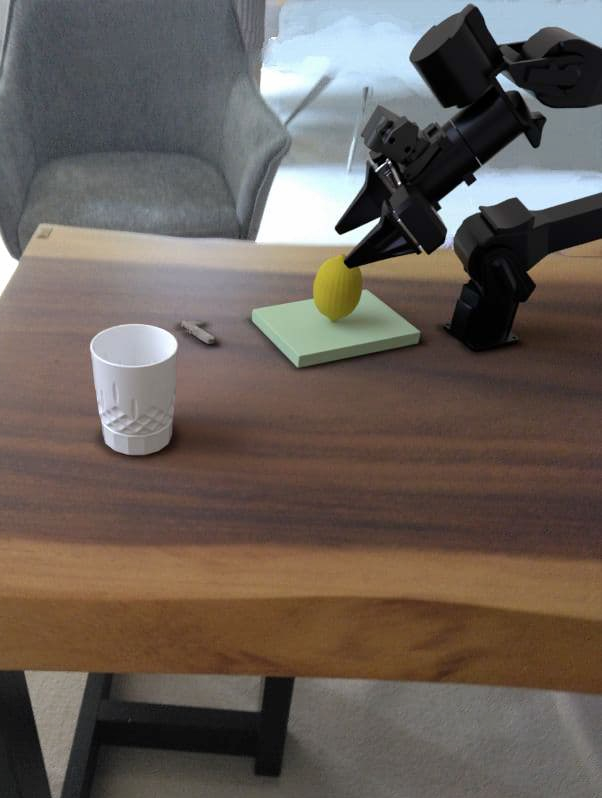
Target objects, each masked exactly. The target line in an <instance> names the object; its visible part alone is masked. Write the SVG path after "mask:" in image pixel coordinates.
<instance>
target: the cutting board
mask: <svg viewBox="0 0 602 798" xmlns="http://www.w3.org/2000/svg"><path fill="white" fill-rule="evenodd" d="M251 312H252V313H251V321H252V323H254V324H255V326H256V327H257V328H258V329H259V330H260V331H261V332H262V333H263V334H264V335H265V336H266V337H267V338H268V340H270V341H271V343H273V345H275V346H276V347H277V348H278V349H279V350H280V352H282V354H284V356H286V357H287V358H288V359H289V361H291V363H292V364H294V366H295V367H296V368H298V369H299V368H304V367H309V366H314V365H318V364H324V363H329V362H334V361H339V360H344V359H348V358H353V357H354V358H355V357H357V356H362V355H363V356H364V355H368V354H372V353H378V352H383V351H387V350H392V349H397V348H403V347H407V346H411V345H417V344H419V342H420V337H421V331H420V330H419V329H418V328H416V327H415V326H414V325H413V324H412V323H410V322H409V321H408V320H406V319H405V318H404V317H402V316H401V315H400V314H399V313H397V312H396V311H395V310H393V309H392V308H391V307H390V306H389V305H387V304H386V303H384V301H382V300H381V299H379V298H378V297H377V296H376V295H374V294H373V292H370V290H368V289H366V288H365V289H362V294H361V298H360V301H359V303H358V305H357V307H356V308H355V309H354V311H353V312H352V313H351V314H349V315H348V316H346V317H343V318H339V319H338V320H336V321H334V322H333V321H330V319H329V318H328V317H326V316H324V315H323V314H321V313H320V312H319V310H318V309H317V307H316V305H315V303H314V298H310V299H309V298H308V299H303V300H297V301H293V302H287V303H282V304H275V305H269V306H265V307H259V308H254V309H252V311H251Z"/></svg>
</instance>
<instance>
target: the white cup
mask: <svg viewBox="0 0 602 798" xmlns="http://www.w3.org/2000/svg"><path fill="white" fill-rule="evenodd" d="M178 343H179V342H178V339H177V338H176V337H175V336H174V335H173V334H172V333H171V332H169V331H168V330H166V329H164V328H161V327H158V326H154V325H150V324H143V323H127V324H126V323H125V324H119V325H115V326H112V327H108V328H106V329H104V330H102V331H100V332H99V333H97V334H96V335H94V336H93V338H92V339H91V341H90V344H89V347H90V348H89V349H90V356H91V364H92V372H93V380H94V381H93V383H94V389H95V394H96V401H97V408H98V415H99V418H100V421H101V423H100V424H101V430H102V436H103V439H104V444H105V445H106V446H108V447H109V448H110V449H112V450H113V451H114V452H117V453H121V454H124V455H127V456H146V455H150V454H153V453H157V452H159V451H161V450H162V449H163V448H165V447H167V446H168V445H169V443H170V440H171V438H172V436H173V423H174V422H173V421H174V419H173V418H174V415H175V414H174V413H175V400H176V392H177V391H176V390H177V374H178V373H177V370H178V354H179V353H178V351H179V344H178Z"/></svg>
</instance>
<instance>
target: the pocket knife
mask: <svg viewBox="0 0 602 798" xmlns="http://www.w3.org/2000/svg"><path fill="white" fill-rule="evenodd" d="M203 324H205V322H204V321H194V320H186V319H185V320H181V325H180V326H181V327H183V328H185V329H186V333H187V334H189V335H193V336H194V337H196V338H198V339H199V340H201V341H202V342H204V343H206V344H209V345H211V344H214V343H215V337H214V336H213V335H212V334H210V333H208V332H207V331H206V330H204V329H202V328H201V327H199V326H202V325H203Z"/></svg>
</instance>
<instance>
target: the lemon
mask: <svg viewBox="0 0 602 798" xmlns="http://www.w3.org/2000/svg"><path fill="white" fill-rule="evenodd" d="M346 257H347V255H346V254H344V253H339V254H338V255H337V256H333V257H331V258H328V259H327V260H326V261H325V262H323V263H322V264H321V266H319V269H318V271H317V273H316V275H315V278H314V281H313V287H312V297H313V299H314V303H315V305H316V307H317V309H318V310H319V312H320V313H321V314H323V315H324V316H326V317H328V318H329V319H330V321H333V322H334V321H336V320H338V319H339V318H343V317H346V316H348V315H349V314H351V313H352V312H353V311H354V309H355V308H356V307H357V305H358V303H359V301H360V298H361V294H362V290H363V275H362V274H363V273H362V271H361V268H360V266H359V267H355V268H351V269H349V268H347V267H346V265H345V264H344V262H343V261H344V259H345V258H346Z"/></svg>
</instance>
